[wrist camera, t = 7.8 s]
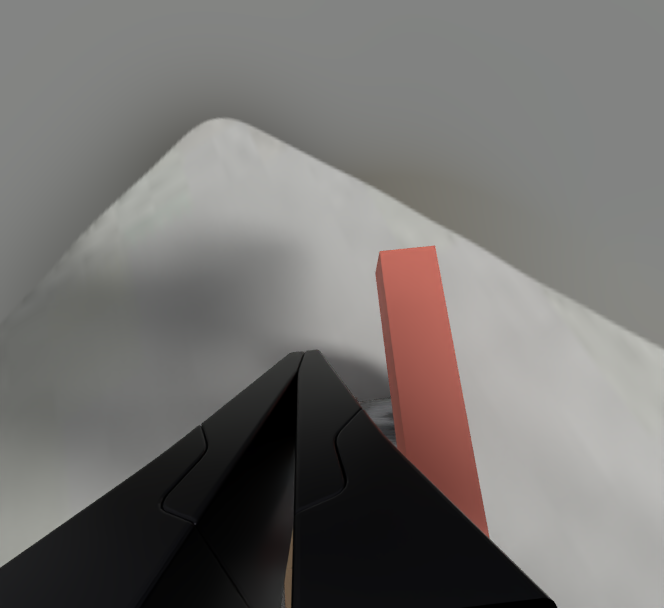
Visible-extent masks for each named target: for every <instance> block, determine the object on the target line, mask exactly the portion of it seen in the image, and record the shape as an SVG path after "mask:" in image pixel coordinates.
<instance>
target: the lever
mask: <svg viewBox="0 0 664 608" xmlns="http://www.w3.org/2000/svg"><path fill="white" fill-rule="evenodd" d="M375 274H376V282H377V290H378V298H379V306H380V314H381V322H382V330H383V338H384V346H385V354H386V362H387V370H388V378H389V386H390V394H391V402H392V410H393V418H394V426H395V434H396V442H397V449H398V450H399V451H400V452H401V453H402V454H403V455H404V456H405V457H406V458H407V459H408V460H409V461H410V462H411V463H413V464H414V465H415V466H416V467H417V468H418V469H419V470H420V471H421V472H422V473H423V474H424V475H425V476H426V477H427V478H428V479H429V480H430V481H431V482H432V483H433V484H434V485H435V486H436V487H437V488H438V489H439V490H440V491H441V492H442V493H443V494H444V495H445V496H446V497H447V498H448V499H449V500H450V501H451V502H452V503H453V504H454V505H456V506H457V507H458V508H459V509H460V510H461V511H462V512H463V513H464V514H465V515H466V516H467V517H468V518H469V519H470V520H471V521H472V522H473V523H474V524H475V525H476V526H477V527H478V528H479V529H480V530H481V531H482V532H483V533H484V534H485V535H486V536H487V537H488V538H489V533H488V527H487V522H486V517H485V511H484V506H483V501H482V495H481V490H480V485H479V479H478V474H477V468H476V463H475V458H474V452H473V447H472V442H471V436H470V431H469V426H468V420H467V415H466V410H465V404H464V399H463V393H462V388H461V383H460V377H459V372H458V367H457V361H456V356H455V351H454V345H453V340H452V334H451V329H450V324H449V318H448V313H447V308H446V302H445V297H444V292H443V286H442V281H441V276H440V270H439V265H438V259H437V254H436V249H435V246H427V247H417V248H407V249H398V250H388V251H380V252H379V257H378V263H377V268H376V273H375ZM489 539H490V538H489Z"/></svg>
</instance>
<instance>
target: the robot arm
mask: <svg viewBox="0 0 664 608" xmlns="http://www.w3.org/2000/svg"><path fill="white" fill-rule="evenodd" d="M201 426H202V427H201ZM201 426H200V425H199V426H197V427H196V428H195V429H194V430H192V431H191V432H190V433H189V434H187V435H186V436H185V437H183V438H182V439H181V440H180V441H178V442H177V443H176V444H174V445H173V446H172V447H170V448H169V449H168V450H167V451H165V452H164V453H163V454H161V455H160V456H159V457H157V458H156V459H154V460H153V461H152V462H150V463H149V464H147V465H146V466H145V467H143V468H142V469H140V470H139V471H138V472H136V473H135V474H133V475H132V476H131V477H129V478H128V479H126V480H125V481H123V482H122V483H121V484H119V485H118V486H116V487H115V488H114V489H112V490H111V491H109V492H108V493H106V494H105V495H104V496H102V497H101V498H99V499H98V500H96V501H95V502H94V503H92V504H91V505H89V506H88V507H86V508H85V509H84V510H82V511H81V512H79V513H78V514H76V515H75V516H74V517H72V518H71V519H69V520H68V521H66V522H65V523H64V524H62V525H61V526H59V527H58V528H56V529H55V530H54V531H52V532H51V533H49V534H48V535H46V536H45V537H44V538H42V539H41V540H39V541H38V542H36V543H35V544H34V545H32V546H31V547H29V548H28V549H26V550H25V551H24V552H22V553H21V554H19V555H18V556H16V557H15V558H14V559H12V560H11V561H9V562H8V563H6V564H5V565H4V566H2V567H1V568H0V608H280V606H281V600H282V594H283V587H284V581H285V575H286V568H287V562H288V556H289V550H290V543H291V537H292V531H293V552H292V590H291V608H557V606H556V604H555V603H554V601H553V600H552V599H551V598H550V597H549V596H548V595H547V594H546V593H545V592H544V591H543V590H542V589H541V588H539V587H538V586H537V585H536V584H535V583H534V582H533V581H532V580H531V579H530V578H529V577H528V576H527V575H526V574H525V573H524V572H523V571H522V570H521V569H520V568H519V567H518V566H517V565H516V564H515V563H514V562H513V561H512V560H511V559H510V558H509V557H508V556H507V555H506V554H505V553H504V552H503V551H502V550H501V549H500V548H499V547H498V546H496V545H495V544H494V543H493V542H492V541H491V540H490V539H489V538H488V537H487V536H486V535H485V534H484V533H483V532H482V531H481V530H480V529H479V528H478V527H477V526H476V525H475V524H474V523H473V522H472V521H471V520H470V519H469V518H468V517H467V516H466V515H465V514H464V513H463V512H462V511H461V510H460V509H459V508H458V507H457V506H456V505H454V504H453V503H452V502H451V501H450V500H449V499H448V498H447V497H446V496H445V495H444V494H443V493H442V492H441V491H440V490H439V489H438V488H437V487H436V486H435V485H434V484H433V483H432V482H431V481H430V480H429V479H428V478H427V477H426V476H425V475H424V474H423V473H422V472H421V471H420V470H419V469H418V468H417V467H416V466H415V465H414V464H413V463H411V462H410V461H409V460H408V459H407V458H406V457H405V456H404V455H403V454H402V453H401V452H400V451H399V450H398V449H397V448H396V447H395V446H394V444H393V443H392V442H391V441H390V440H389V439H388V438H387V437H386V436H385V435H384V434H383V433H382V432H381V430H380V429H379V428H378V427H377V425H376V424H375V423H374V422H373V421H372V419H371V418H370V417H369V415H368V414H367V413H366V411H365V410H363V408H362V407H361V405H360V404H359V403H358V401H357V400H356V399H355V397H354V396H353V395H352V393H351V392H350V391H349V389H348V388H347V387H346V385H345V384H344V383H343V381H342V380H341V379H340V377H339V376H338V375H337V373H336V372H335V371H334V369H333V368H332V367H331V365H330V364H329V363H328V361H327V360H326V359H325V357H324V356H323V355H322V353H321V352H320V351H319V350H311V351H306V352H305V353H304V352H292V353H289V354H288V355H287V356H286V357H284V358H283V359H282V360H281V361H279V362H278V363H277V364H276V365H274V366H273V367H272V368H271V369H269V370H268V371H267V372H266V373H264V374H263V375H262V376H261V377H259V378H258V379H257V380H256V381H254V382H253V383H252V384H251V385H249V386H248V387H247V388H246V389H244V390H243V391H242V392H241V393H239V394H238V395H237V396H236V397H234V398H233V399H232V400H231V401H229V402H228V403H227V404H226V405H224V406H223V407H222V408H221V409H219V410H218V411H217V412H216V413H214V414H213V415H212V416H211V417H209V418H208V419H207V420H206V421H204V422H203V423H202V424H201Z"/></svg>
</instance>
